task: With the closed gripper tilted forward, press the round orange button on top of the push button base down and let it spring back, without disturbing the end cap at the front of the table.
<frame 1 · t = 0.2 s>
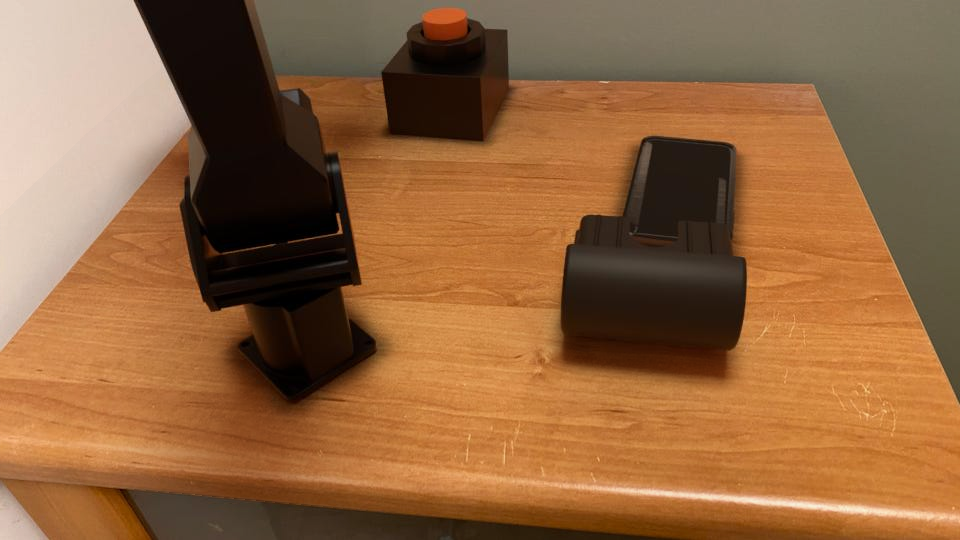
orange push button: (445, 25, 66), point 8 cm above the table, slide at 0.1 cm
phone: (680, 199, 57), on the table
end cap: (643, 332, 46), on the table
push button base: (452, 111, 71), on the table
walkman: (233, 166, 65), on the table
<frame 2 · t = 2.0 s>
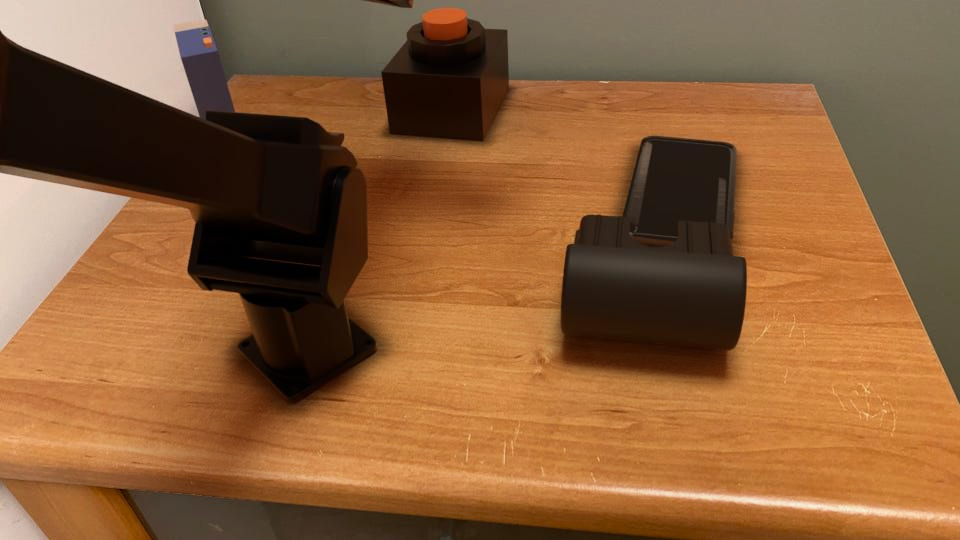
hand: (408, 1, 56), 13 cm above the table, tool tilted 45°, fingers closed
nothing on the table moved.
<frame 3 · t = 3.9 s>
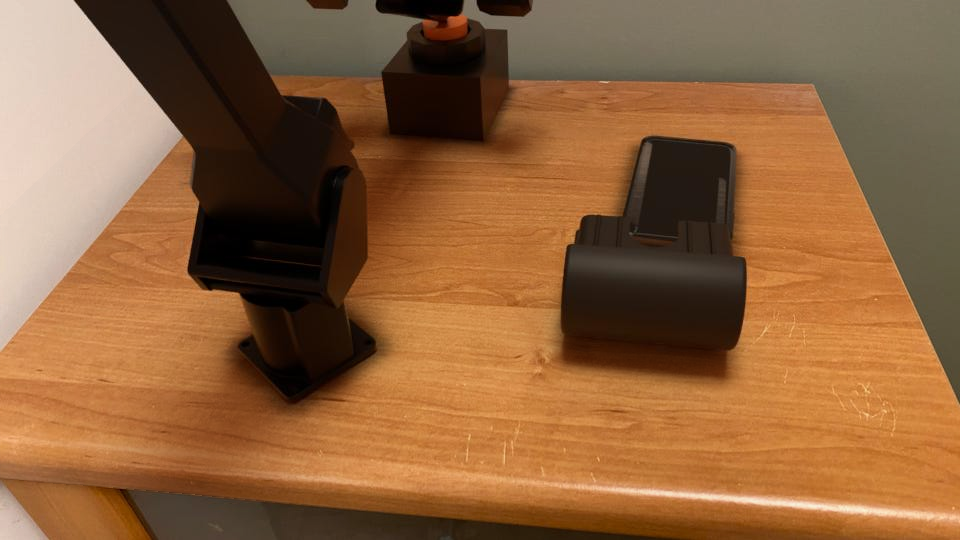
hand: (444, 16, 65), 9 cm above the table, tool tilted 45°, fingers closed, pressing on orange push button
orange push button: (445, 29, 66), point 8 cm above the table, slide at -0.3 cm, touching gripper
everything else where it was.
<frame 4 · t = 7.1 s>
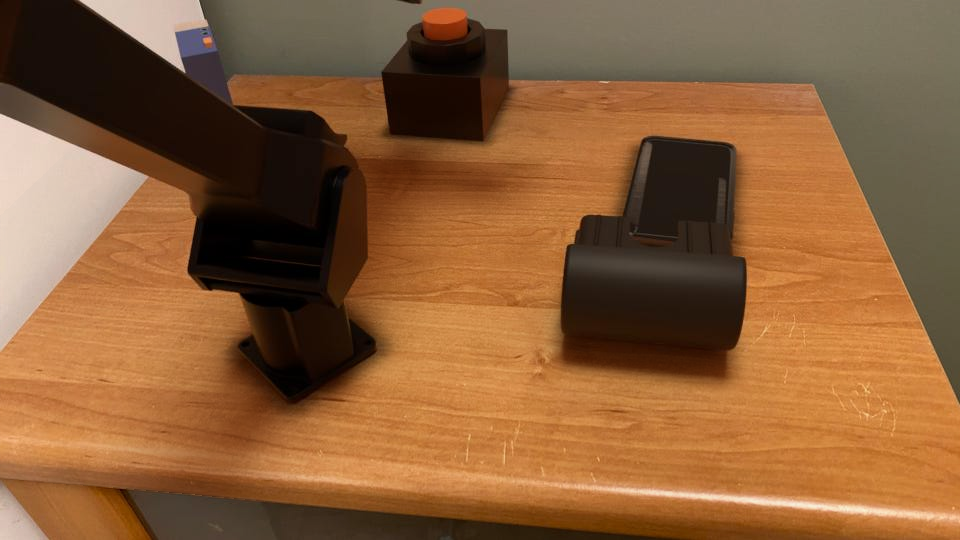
orange push button: (445, 25, 66), point 8 cm above the table, slide at 0.1 cm
everything else where it was.
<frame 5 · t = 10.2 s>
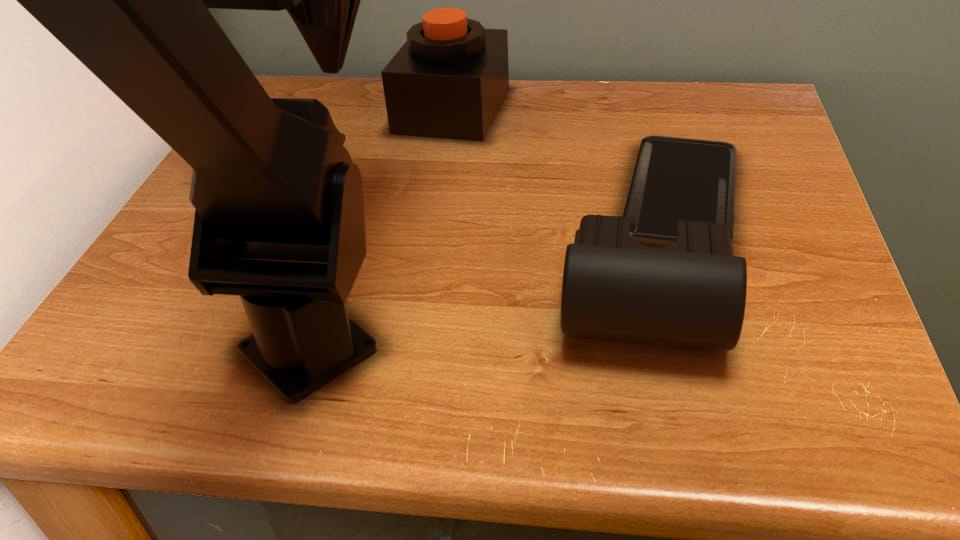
hand: (332, 71, 48), 13 cm above the table, tool pointing down, fingers closed
nothing on the table moved.
at the end: orange push button pushed in 1.3 cm at the most during the clip, back to where it started at the end; orange push button slide at 0.1 cm; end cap moved 0.2 cm from its start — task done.
